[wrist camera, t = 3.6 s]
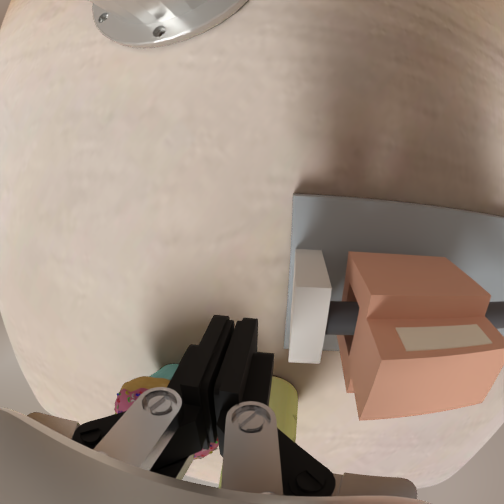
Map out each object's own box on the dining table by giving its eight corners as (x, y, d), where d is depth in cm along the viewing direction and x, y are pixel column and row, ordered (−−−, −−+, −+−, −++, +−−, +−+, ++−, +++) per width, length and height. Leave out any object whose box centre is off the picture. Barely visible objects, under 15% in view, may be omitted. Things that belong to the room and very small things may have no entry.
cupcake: (189, 330, 20) (113, 462, 9) (253, 402, 22) (226, 528, 11) (123, 363, 23) (53, 458, 12) (183, 422, 25) (141, 520, 13)
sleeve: (336, 332, 16) (352, 435, 9) (348, 251, 14) (389, 333, 7) (425, 332, 15) (472, 417, 8) (445, 256, 14) (521, 324, 7)
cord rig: (284, 340, 20) (275, 430, 12) (293, 193, 16) (293, 224, 9) (542, 327, 16) (582, 371, 9) (570, 231, 13) (624, 260, 5)
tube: (308, 410, 22) (292, 627, 3) (254, 421, 23) (210, 617, 5) (285, 365, 20) (247, 637, 2) (226, 380, 22) (147, 610, 3)
